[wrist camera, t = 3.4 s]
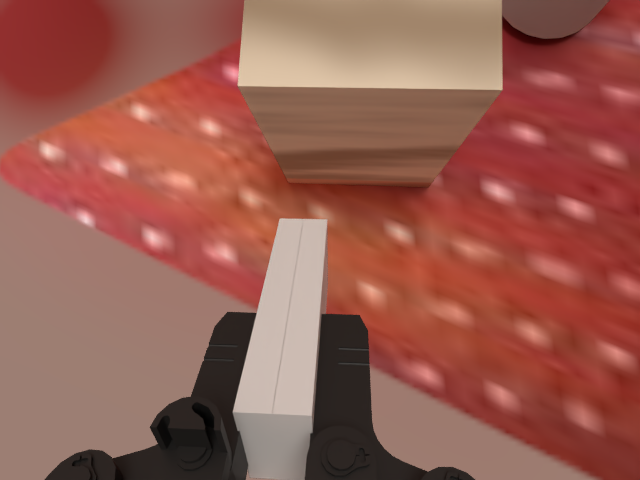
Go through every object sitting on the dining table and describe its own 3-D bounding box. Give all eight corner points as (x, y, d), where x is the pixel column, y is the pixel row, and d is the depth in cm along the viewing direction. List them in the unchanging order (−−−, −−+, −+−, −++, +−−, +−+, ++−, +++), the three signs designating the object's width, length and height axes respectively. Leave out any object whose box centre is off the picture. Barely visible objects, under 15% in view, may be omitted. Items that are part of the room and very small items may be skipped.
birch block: (428, 187, 29) (502, 89, 15) (288, 182, 30) (237, 86, 16) (429, 119, 30) (501, -33, 16) (292, 117, 30) (247, -31, 17)
